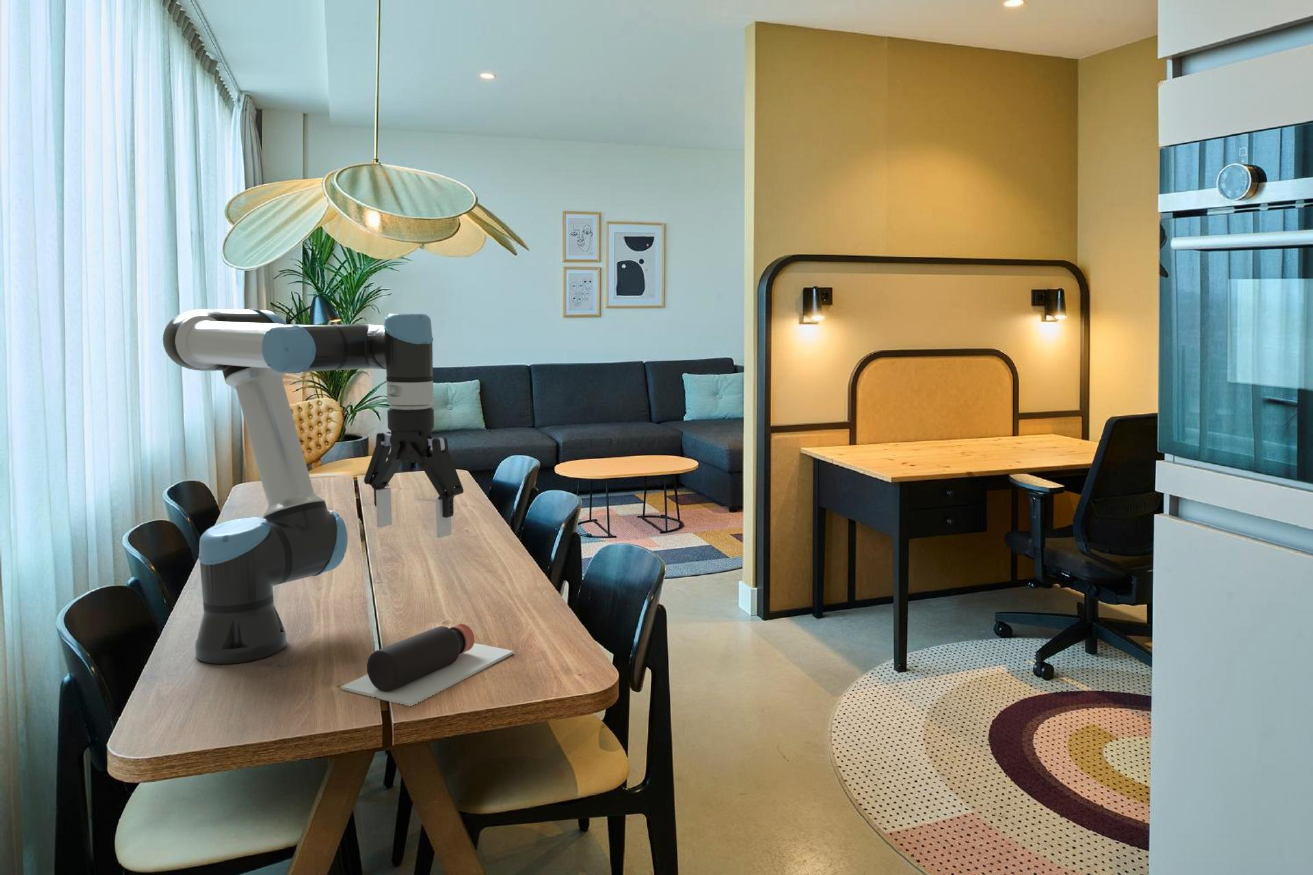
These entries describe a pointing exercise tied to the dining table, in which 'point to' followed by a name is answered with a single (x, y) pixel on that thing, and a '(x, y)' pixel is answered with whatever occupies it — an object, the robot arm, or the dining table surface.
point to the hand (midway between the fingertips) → (413, 530)
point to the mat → (434, 677)
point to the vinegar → (418, 656)
